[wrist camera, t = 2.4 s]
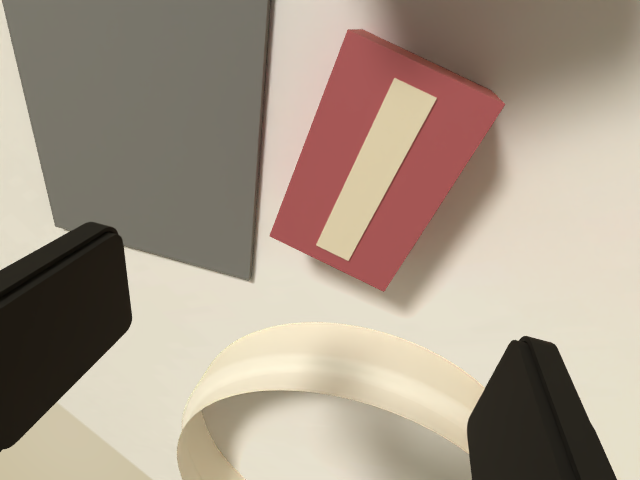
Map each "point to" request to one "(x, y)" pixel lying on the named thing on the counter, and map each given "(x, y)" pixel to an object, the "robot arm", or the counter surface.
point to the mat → (149, 119)
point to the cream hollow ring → (328, 383)
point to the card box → (380, 157)
